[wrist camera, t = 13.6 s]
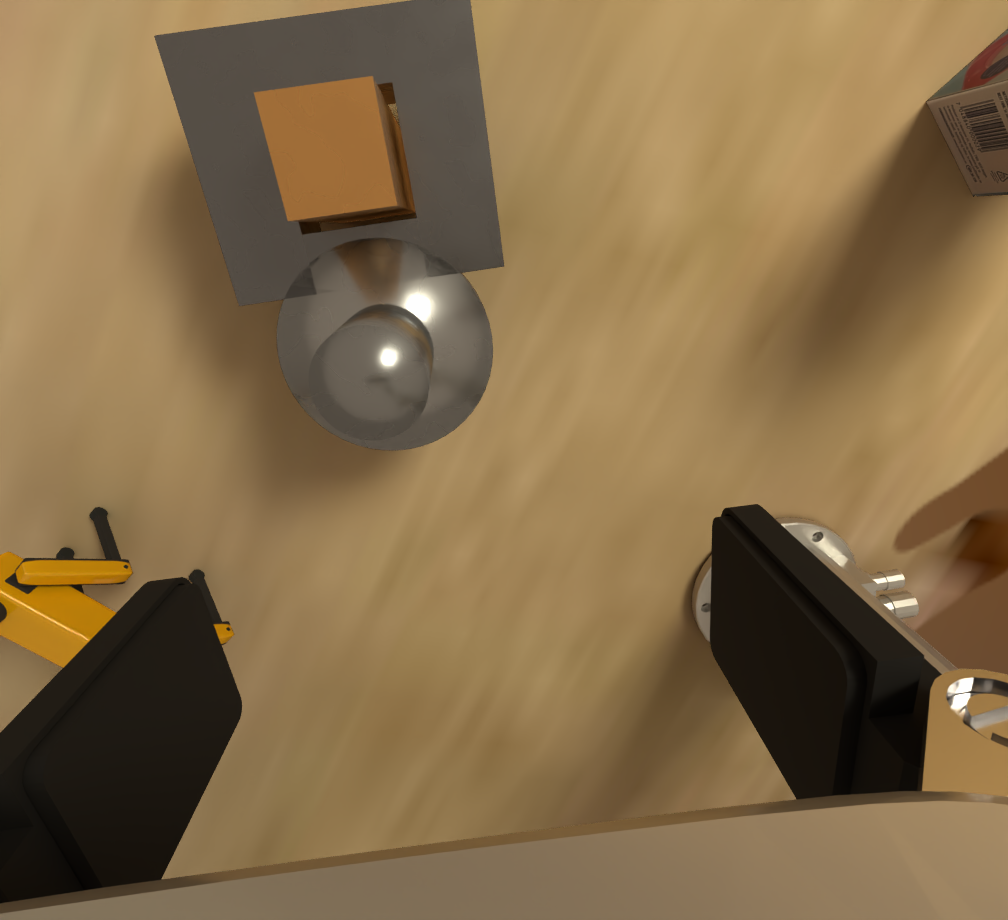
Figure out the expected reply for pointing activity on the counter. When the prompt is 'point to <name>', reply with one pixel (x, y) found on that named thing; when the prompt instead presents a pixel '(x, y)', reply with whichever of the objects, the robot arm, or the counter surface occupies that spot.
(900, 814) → the robot arm
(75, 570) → the robot dog
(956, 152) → the juice carton
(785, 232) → the counter surface
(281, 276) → the block with square hole
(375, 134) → the wooden block
